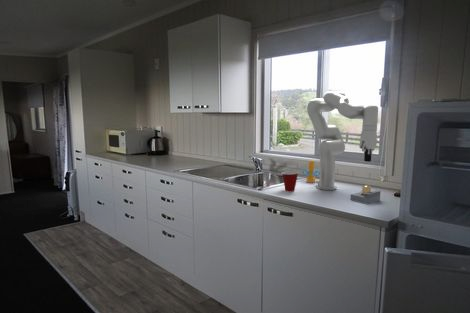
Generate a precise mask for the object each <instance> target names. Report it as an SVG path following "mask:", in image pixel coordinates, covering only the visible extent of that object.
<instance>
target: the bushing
mask: <svg viewBox="0 0 470 313" xmlns="http://www.w3.org/2000/svg"><path fill="white" fill-rule="evenodd" d="M361 192H362V196H365V193H368V192H372V186H371V185H362V190H361Z"/></svg>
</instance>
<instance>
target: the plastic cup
mask: <svg viewBox="0 0 470 313" xmlns="http://www.w3.org/2000/svg"><path fill="white" fill-rule="evenodd" d="M281 175H282V178H283V185H284V190H285V192H295V190H296V185H297V179H298V175H299V171H283V172H281Z"/></svg>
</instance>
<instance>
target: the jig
mask: <svg viewBox="0 0 470 313" xmlns="http://www.w3.org/2000/svg"><path fill="white" fill-rule="evenodd" d="M349 196H350V200H351V201H356V202H359V203H364V204H372V203H376V202H379V201H381V190H378V189H377V190H373V191H372V190H371V192H368V193H365V196H362V191H360V192H359V191H358V192H354V193H350V195H349Z"/></svg>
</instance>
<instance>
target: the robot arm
mask: <svg viewBox="0 0 470 313" xmlns="http://www.w3.org/2000/svg"><path fill="white" fill-rule="evenodd" d="M349 101H350V100H349V99H348V98H347V96H346V94H345V93H344V92H343V91H340V90H339V91H338V90H337V91H336V90H329V91H327V92H325V93H324V94H323V96H322V98H314V99H310V100H309V102H308V103H307V107H306V111H307V115H308V117H309V120H310V121H311V124H312V126H313V129H314V131H315V135H316V136H317V139H318V140H321V142H319V143H318V153H319V172H320V175H319V177H318V178H319V179H315V182H314V183H315V184H316V189H318V190H322V191H335V190H337V188H338V187H337V186H336V185H335V175H336V174H335V171H336V159H335V157H334V155H341V154H343V153H344V152H345V150H346V144H345V141H344V138H343V135H342V133H341V130H340V129H339V127H338V126H336V125H335V124H334V125H333V124H327V121H326V119H325V117H324V116H323V115H322V113H327V112H328V113H329V112H332V111H334V110H337V112H338V113H339V114H340V116H343V117H345V118H347V119H350V120H362V128H361V129H362V130H361V133H360V136H359V145H358V146H359V147H358V148H359V149H360V150H361V151H362V152H363V154H364V155H363V156H364V160H363V161H364V162H367V163H369V162H372V155H373V151H375V149H376V148H377V146H378V144H377V143H378V136H377V135H378V134H377V133H378V132H377V131H378V119H379V107H378V106H377V105H352V104H349V103H350V102H349Z"/></svg>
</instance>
